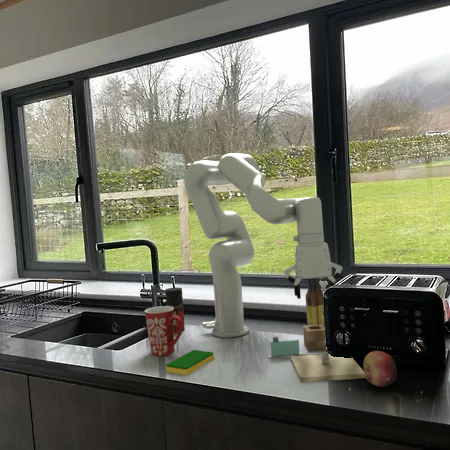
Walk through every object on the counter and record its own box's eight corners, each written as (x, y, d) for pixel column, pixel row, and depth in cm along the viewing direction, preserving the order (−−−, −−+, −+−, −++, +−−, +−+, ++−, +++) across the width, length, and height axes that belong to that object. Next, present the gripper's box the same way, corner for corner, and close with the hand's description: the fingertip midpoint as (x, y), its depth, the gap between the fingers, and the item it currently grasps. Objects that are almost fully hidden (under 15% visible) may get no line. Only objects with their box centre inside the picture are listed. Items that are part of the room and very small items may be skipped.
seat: (276, 383, 120) (275, 367, 119) (267, 356, 141) (266, 341, 140) (365, 378, 120) (364, 361, 120) (343, 351, 141) (342, 336, 141)
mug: (141, 355, 149) (138, 311, 148) (160, 346, 156) (157, 305, 156) (173, 360, 142) (170, 314, 141) (192, 351, 150) (189, 307, 149)
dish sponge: (165, 373, 133) (165, 364, 133) (194, 357, 145) (193, 349, 145) (187, 376, 130) (186, 367, 129) (214, 360, 141) (213, 351, 141)
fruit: (365, 378, 120) (364, 346, 119) (398, 380, 117) (397, 348, 116) (361, 390, 113) (360, 356, 112) (396, 393, 110) (395, 358, 109)
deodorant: (169, 333, 171) (166, 291, 170) (167, 329, 177) (164, 288, 176) (185, 331, 172) (183, 289, 171) (183, 327, 178) (180, 286, 177)
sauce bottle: (326, 332, 160) (323, 272, 159) (329, 338, 154) (326, 276, 153) (306, 333, 161) (303, 273, 160) (308, 338, 155) (304, 276, 154)
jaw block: (307, 351, 143) (306, 331, 142) (304, 345, 149) (303, 325, 148) (328, 350, 143) (327, 329, 142) (323, 344, 149) (322, 324, 148)
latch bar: (271, 356, 139) (270, 338, 138) (271, 354, 140) (270, 336, 140) (299, 354, 139) (298, 336, 139) (298, 352, 140) (297, 334, 140)
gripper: (283, 242, 140) (287, 301, 141) (343, 237, 140) (347, 296, 141) (280, 240, 147) (284, 296, 148) (336, 236, 148) (340, 292, 148)
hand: (314, 296), depth 144 cm, fingers open, 9 cm apart
